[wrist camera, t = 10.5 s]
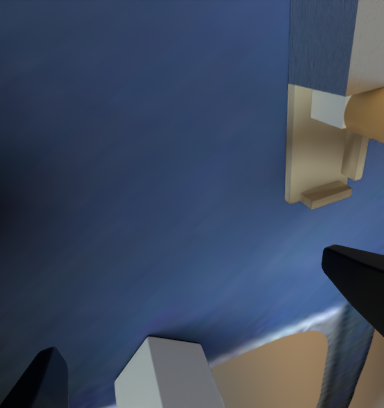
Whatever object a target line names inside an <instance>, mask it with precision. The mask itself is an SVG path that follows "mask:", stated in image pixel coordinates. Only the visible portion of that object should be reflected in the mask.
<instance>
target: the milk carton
mask: <svg viewBox="0 0 384 408" xmlns="http://www.w3.org/2000/svg"><path fill="white" fill-rule="evenodd" d="M115 393H116V403H117V408H225V405H224V403H223V400H222V398H221V395H220V393H219V390H218V387H217V385H216V382H215V380H214V377H213V375H212V372H211V369H210V367H209V364H208V362H207V359H206V357H205V354H204V351H203V349H202V346H201V345H200V344H196V343H190V342H183V341H176V340H169V339H163V338H156V337H147V338H146V339H145V341H144V342H143V343H142V345H141V346H140V347H139V349H138V350H137V352H136V353H135V354H134V356H133V357H132V358H131V360H130V361H129V363H128V364H127V365H126V367H125V368H124V369H123V371H122V372H121V374H120V375H119V376H118V378H117V379H116V380H115Z"/></svg>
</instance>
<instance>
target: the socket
mask: <svg viewBox="0 0 384 408" xmlns="http://www.w3.org/2000/svg"><path fill="white" fill-rule="evenodd" d="M288 84H292V85H297V86H301V87H305V88H310V89H314V90H318V91H323V92H327V93H331V94H336V95H340V96H344V97H347V96H350V95H354V94H358V93H362V92H366V91H369V90H373V89H377V88H381V87H384V0H291V7H290V41H289V74H288Z"/></svg>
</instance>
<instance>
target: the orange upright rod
mask: <svg viewBox="0 0 384 408" xmlns="http://www.w3.org/2000/svg"><path fill="white" fill-rule="evenodd" d="M310 118H313V119H315V120H318V121H321V122H324V123H327V124H329V125H332V126H335V127H338V128H341V129H345V130H348V131H351V132H354V133H356V134H359V135H362V136H365V137H368V138H370V139H373V140H376V141H379V142H382V143H384V87H381V88H377V89H373V90H369V91H366V92H362V93H358V94H354V95H350V96H347V97H344V96H340V95H336V94H331V93H327V92H323V91H318V90H314V89H313V90H312V104H311V117H310Z"/></svg>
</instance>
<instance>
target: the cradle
mask: <svg viewBox="0 0 384 408" xmlns="http://www.w3.org/2000/svg"><path fill="white" fill-rule="evenodd" d="M312 90H313V89H310V88H305V87H301V86H297V85H292V84H288V108H287V141H286V175H285V201H287V202H288V203H289V204H292V203H295V202H298V201H301V202H302V203H303V204H305V205H306V206H307V207H309V208H310V209H311V210H312V209H315V208H318V207H321V206H324V205H327V204H330V203H333V202H336V201H339V200H341V199H344V198H347V197H350V196H351V193H352V188H351V187H349V186H347V181H348V178H350V179H352V180H354V181H356V180H359V179H362V173H363V168H364V163H365V158H366V152H367V147H368V142H369V138H368V137H365V136H362V135H359V134H356V133H354V132H351V131H348V130H345V129H341V128H338V127H335V126H332V125H329V124H327V123H324V122H321V121H318V120H315V119H313V118H310V117H311V104H312Z"/></svg>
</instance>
